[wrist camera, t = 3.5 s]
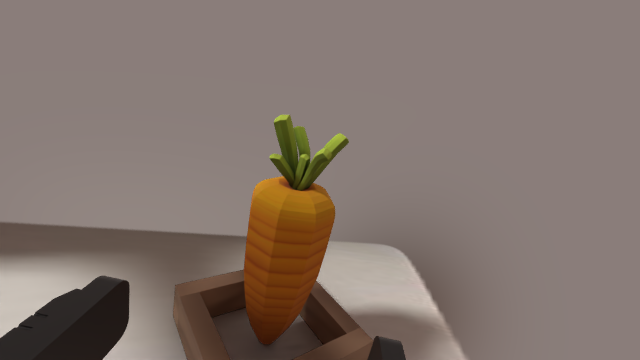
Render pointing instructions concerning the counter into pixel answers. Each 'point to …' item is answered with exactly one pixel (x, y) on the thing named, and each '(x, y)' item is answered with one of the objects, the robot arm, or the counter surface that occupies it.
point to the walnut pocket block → (229, 294)
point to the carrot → (287, 232)
